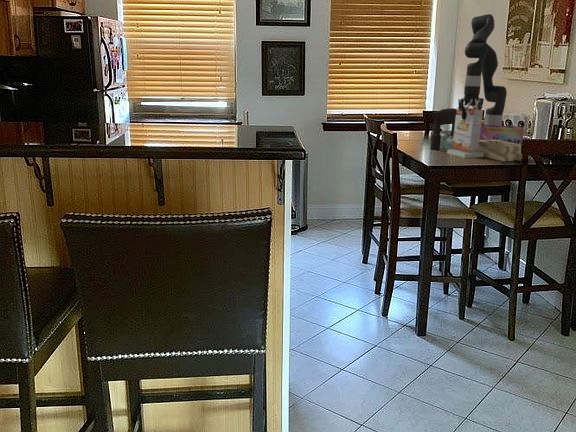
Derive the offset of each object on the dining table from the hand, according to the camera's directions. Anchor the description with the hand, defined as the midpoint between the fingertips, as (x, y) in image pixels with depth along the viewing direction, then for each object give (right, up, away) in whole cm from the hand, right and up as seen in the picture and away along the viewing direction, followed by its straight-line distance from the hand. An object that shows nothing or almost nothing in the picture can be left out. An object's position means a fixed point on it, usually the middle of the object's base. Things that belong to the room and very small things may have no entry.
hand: (469, 119), depth 288 cm
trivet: (0, -18, +5) cm, 18 cm away
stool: (-4, -11, +28) cm, 31 cm away
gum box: (+21, -14, +19) cm, 32 cm away
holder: (+16, -19, +2) cm, 25 cm away
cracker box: (-1, -15, +5) cm, 16 cm away
